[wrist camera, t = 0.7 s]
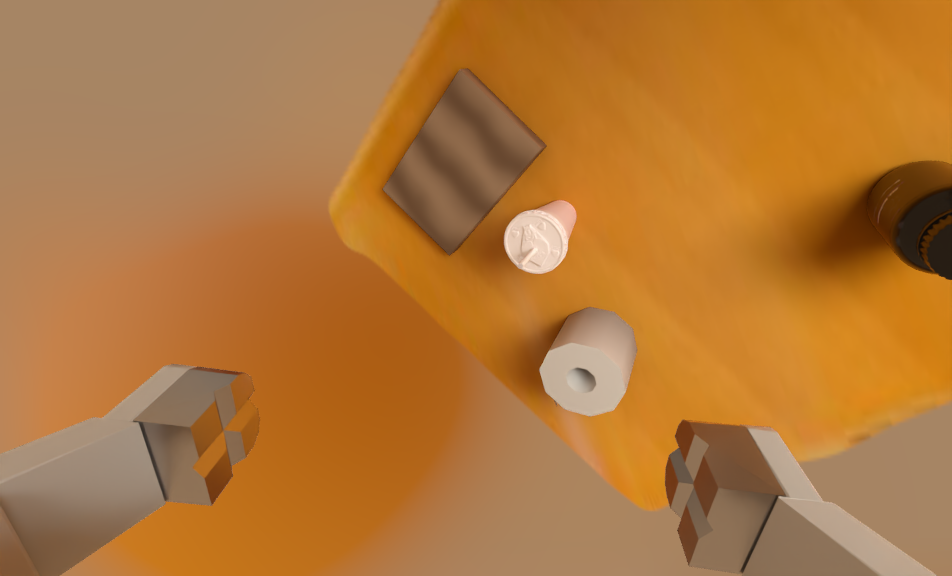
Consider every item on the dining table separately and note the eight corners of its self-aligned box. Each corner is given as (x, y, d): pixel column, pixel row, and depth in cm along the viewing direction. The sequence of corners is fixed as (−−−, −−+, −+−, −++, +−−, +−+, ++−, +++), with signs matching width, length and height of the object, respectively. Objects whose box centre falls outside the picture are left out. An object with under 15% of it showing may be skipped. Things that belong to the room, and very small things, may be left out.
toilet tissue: (540, 371, 65) (518, 410, 58) (579, 294, 58) (559, 328, 51) (602, 405, 63) (587, 450, 56) (650, 329, 56) (640, 370, 49)
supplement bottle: (855, 178, 42) (895, 218, 32) (960, 145, 38) (1041, 178, 29) (874, 248, 43) (919, 306, 34) (977, 223, 40) (1061, 280, 30)
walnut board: (467, 68, 52) (459, 69, 50) (546, 145, 52) (541, 148, 50) (391, 185, 63) (382, 189, 61) (456, 250, 62) (449, 255, 61)
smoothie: (544, 248, 57) (500, 298, 46) (525, 197, 55) (475, 236, 44) (596, 234, 54) (562, 285, 42) (577, 180, 52) (538, 217, 41)
